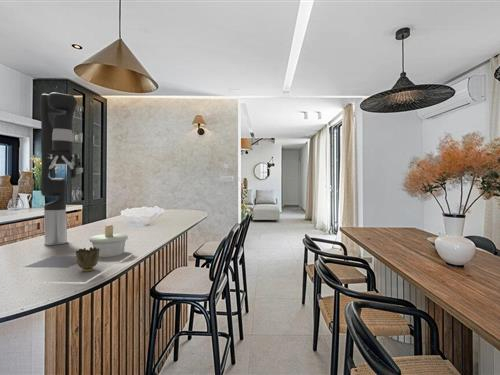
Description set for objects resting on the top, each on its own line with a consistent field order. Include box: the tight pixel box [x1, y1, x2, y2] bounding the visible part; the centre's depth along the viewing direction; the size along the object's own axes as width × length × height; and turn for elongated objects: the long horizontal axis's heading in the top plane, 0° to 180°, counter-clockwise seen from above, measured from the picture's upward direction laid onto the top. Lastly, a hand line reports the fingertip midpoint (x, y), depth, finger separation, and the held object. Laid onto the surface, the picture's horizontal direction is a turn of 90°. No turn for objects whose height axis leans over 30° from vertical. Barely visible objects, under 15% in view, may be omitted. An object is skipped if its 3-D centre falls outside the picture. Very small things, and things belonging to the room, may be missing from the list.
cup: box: [75, 246, 100, 273], centre depth 106 cm, size 8×7×8 cm
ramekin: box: [91, 240, 127, 258], centre depth 131 cm, size 13×13×7 cm
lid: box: [88, 224, 129, 243], centre depth 130 cm, size 15×15×6 cm
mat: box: [24, 255, 78, 269], centre depth 118 cm, size 16×16×1 cm
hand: (62, 178), depth 130 cm, fingers open, 8 cm apart
